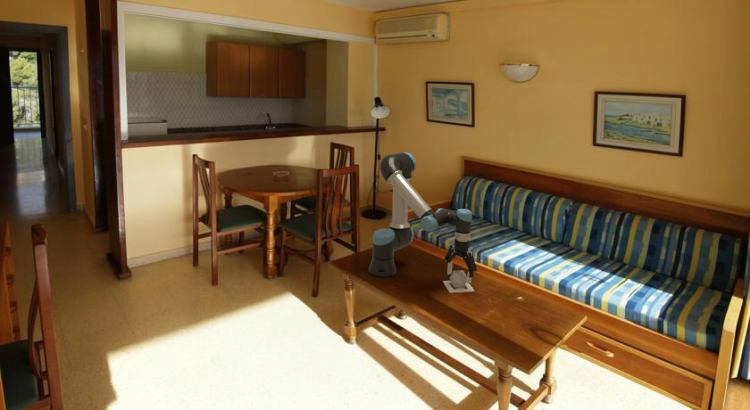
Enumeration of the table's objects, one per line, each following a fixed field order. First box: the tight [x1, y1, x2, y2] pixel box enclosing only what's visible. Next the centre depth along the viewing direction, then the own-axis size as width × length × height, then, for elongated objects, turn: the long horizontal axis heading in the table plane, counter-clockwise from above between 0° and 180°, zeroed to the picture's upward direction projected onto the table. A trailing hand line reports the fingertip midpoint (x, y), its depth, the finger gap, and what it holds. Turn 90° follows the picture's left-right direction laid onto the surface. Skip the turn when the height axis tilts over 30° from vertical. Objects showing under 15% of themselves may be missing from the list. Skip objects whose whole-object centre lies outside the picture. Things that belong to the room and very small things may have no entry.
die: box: [449, 270, 467, 287], centre depth 253 cm, size 8×9×10 cm
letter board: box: [442, 280, 476, 294], centre depth 254 cm, size 13×13×1 cm
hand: (459, 278), depth 253 cm, fingers open, 13 cm apart
